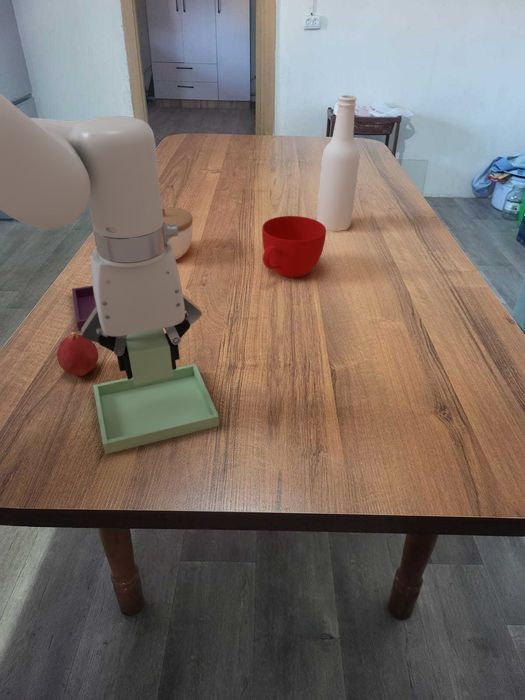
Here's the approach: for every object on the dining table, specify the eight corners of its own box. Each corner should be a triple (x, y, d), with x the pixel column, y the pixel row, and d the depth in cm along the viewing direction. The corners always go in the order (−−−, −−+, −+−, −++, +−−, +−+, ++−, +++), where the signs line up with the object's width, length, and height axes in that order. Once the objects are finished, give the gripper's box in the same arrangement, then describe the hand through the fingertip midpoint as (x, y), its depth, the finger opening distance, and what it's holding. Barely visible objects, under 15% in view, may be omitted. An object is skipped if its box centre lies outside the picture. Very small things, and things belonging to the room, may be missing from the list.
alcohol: (326, 235, 122) (340, 101, 104) (309, 222, 128) (320, 94, 110) (356, 230, 125) (375, 99, 107) (338, 217, 131) (353, 92, 113)
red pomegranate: (54, 380, 75) (41, 337, 70) (79, 359, 79) (68, 317, 74) (86, 390, 73) (75, 347, 68) (109, 368, 78) (100, 326, 73)
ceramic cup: (238, 282, 101) (237, 236, 95) (282, 253, 113) (284, 211, 107) (291, 301, 96) (294, 254, 90) (332, 269, 107) (337, 225, 101)
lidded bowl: (200, 246, 114) (198, 200, 108) (186, 271, 104) (182, 221, 98) (148, 242, 116) (143, 195, 109) (129, 266, 106) (121, 216, 99)
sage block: (134, 385, 63) (129, 354, 60) (128, 362, 67) (123, 332, 64) (173, 377, 64) (169, 346, 61) (165, 355, 68) (161, 325, 65)
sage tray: (105, 456, 63) (102, 444, 62) (95, 396, 72) (93, 384, 71) (219, 428, 68) (218, 416, 66) (196, 375, 77) (195, 363, 75)
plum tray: (79, 333, 85) (76, 321, 84) (74, 299, 94) (71, 288, 93) (166, 317, 90) (165, 307, 88) (153, 286, 99) (152, 276, 98)
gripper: (197, 219, 60) (204, 340, 71) (48, 237, 55) (81, 365, 66) (214, 243, 54) (220, 371, 65) (50, 266, 49) (86, 401, 60)
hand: (150, 367), depth 65 cm, fingers closed on sage block, 5 cm apart
